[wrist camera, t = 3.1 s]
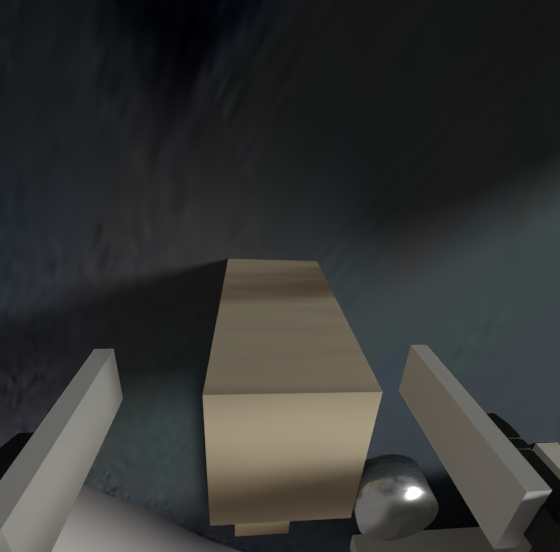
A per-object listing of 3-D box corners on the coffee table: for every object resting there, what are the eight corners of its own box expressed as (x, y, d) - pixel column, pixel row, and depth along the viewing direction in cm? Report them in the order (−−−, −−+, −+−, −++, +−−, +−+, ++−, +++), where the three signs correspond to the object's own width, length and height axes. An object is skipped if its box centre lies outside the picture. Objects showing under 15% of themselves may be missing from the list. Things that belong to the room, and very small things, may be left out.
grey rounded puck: (352, 454, 25) (364, 493, 23) (427, 451, 26) (448, 487, 23) (342, 503, 28) (352, 543, 25) (410, 499, 29) (427, 537, 26)
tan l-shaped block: (228, 258, 17) (202, 394, 8) (316, 260, 18) (382, 391, 9) (230, 494, 26) (219, 687, 17) (290, 491, 27) (310, 677, 18)
